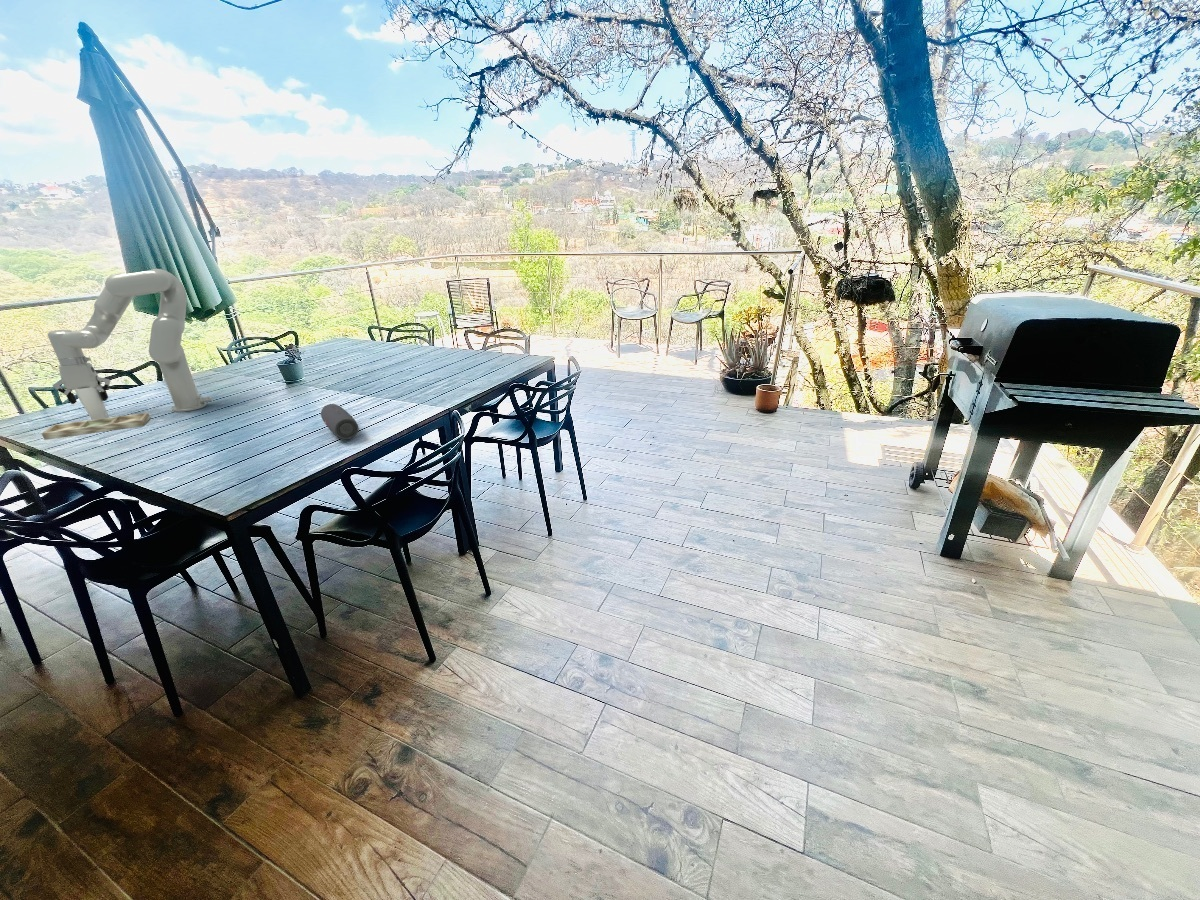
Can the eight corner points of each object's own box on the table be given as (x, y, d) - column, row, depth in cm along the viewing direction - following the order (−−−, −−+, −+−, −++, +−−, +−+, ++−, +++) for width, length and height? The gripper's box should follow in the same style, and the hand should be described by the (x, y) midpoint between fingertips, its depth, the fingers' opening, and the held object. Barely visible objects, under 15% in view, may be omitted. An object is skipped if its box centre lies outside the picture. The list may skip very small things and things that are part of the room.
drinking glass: (98, 423, 200) (82, 389, 194) (85, 422, 202) (69, 388, 196) (116, 418, 207) (101, 384, 200) (103, 417, 208) (88, 383, 202)
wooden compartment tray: (150, 418, 207) (148, 412, 206) (143, 425, 198) (141, 420, 197) (56, 430, 194) (53, 424, 193) (44, 439, 185) (41, 433, 184)
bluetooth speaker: (322, 428, 195) (316, 405, 191) (346, 422, 200) (341, 400, 196) (336, 445, 179) (330, 420, 175) (362, 439, 185) (357, 414, 180)
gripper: (104, 357, 200) (120, 396, 207) (47, 361, 193) (65, 401, 199) (98, 361, 194) (114, 401, 201) (38, 365, 187) (57, 407, 193)
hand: (90, 401), depth 200 cm, fingers open, 9 cm apart
